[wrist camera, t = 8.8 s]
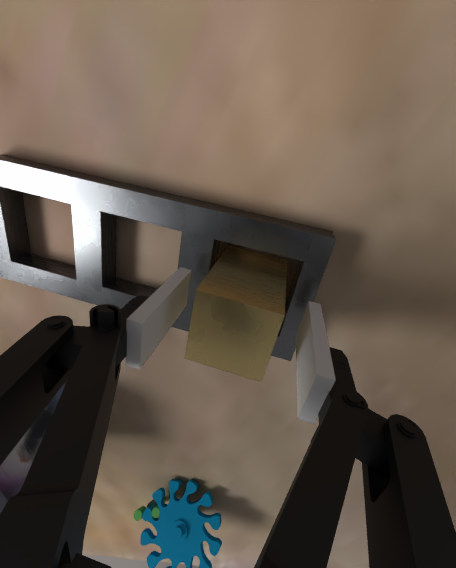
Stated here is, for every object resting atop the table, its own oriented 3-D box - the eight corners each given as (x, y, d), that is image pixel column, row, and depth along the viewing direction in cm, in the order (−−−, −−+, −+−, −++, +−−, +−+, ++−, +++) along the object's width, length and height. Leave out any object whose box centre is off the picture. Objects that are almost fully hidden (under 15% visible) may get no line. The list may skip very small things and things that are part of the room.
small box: (102, 433, 34) (31, 536, 25) (61, 430, 36) (-20, 525, 27) (68, 366, 30) (-31, 457, 21) (23, 366, 32) (-87, 451, 23)
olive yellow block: (218, 295, 23) (184, 358, 16) (228, 244, 21) (195, 290, 14) (271, 310, 22) (261, 382, 15) (287, 260, 20) (284, 315, 13)
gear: (230, 500, 31) (204, 612, 28) (239, 485, 37) (217, 577, 34) (148, 464, 35) (116, 560, 32) (167, 455, 40) (141, 536, 37)
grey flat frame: (20, 269, 26) (0, 277, 24) (1, 154, 22) (-26, 154, 20) (290, 345, 23) (290, 360, 21) (332, 231, 19) (336, 239, 17)
